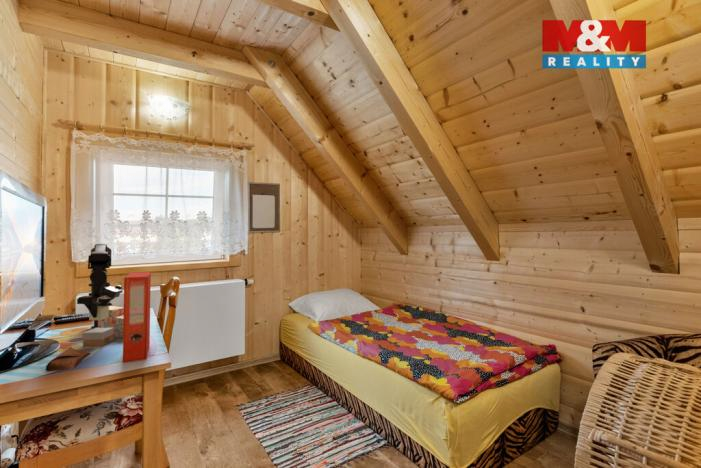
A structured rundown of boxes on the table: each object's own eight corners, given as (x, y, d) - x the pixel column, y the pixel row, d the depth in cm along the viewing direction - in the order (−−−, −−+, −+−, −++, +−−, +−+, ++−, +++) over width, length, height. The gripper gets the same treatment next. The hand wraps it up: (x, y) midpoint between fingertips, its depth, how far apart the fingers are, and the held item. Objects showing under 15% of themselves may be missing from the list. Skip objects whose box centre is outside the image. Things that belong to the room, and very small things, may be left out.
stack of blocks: (136, 335, 165) (136, 309, 165) (122, 339, 160) (123, 312, 160) (111, 329, 175) (111, 305, 175) (97, 332, 170) (97, 307, 170)
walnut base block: (95, 341, 157) (95, 334, 157) (114, 340, 158) (114, 334, 158) (83, 346, 149) (83, 339, 149) (102, 346, 150) (102, 339, 150)
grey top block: (96, 334, 158) (96, 327, 158) (114, 334, 158) (114, 327, 158) (82, 339, 150) (82, 332, 150) (101, 339, 150) (101, 332, 150)
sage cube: (97, 317, 156) (97, 306, 156) (108, 317, 156) (108, 306, 156) (89, 320, 151) (89, 308, 151) (100, 320, 151) (101, 308, 151)
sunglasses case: (74, 368, 125) (63, 353, 124) (54, 380, 123) (42, 365, 121) (92, 352, 142) (82, 339, 140) (73, 363, 139) (63, 349, 138)
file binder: (150, 346, 150) (150, 271, 150) (147, 359, 135) (147, 276, 134) (128, 348, 146) (128, 272, 146) (122, 362, 131) (123, 277, 131)
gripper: (103, 284, 145) (103, 321, 145) (130, 278, 163) (130, 311, 163) (76, 284, 144) (75, 321, 144) (106, 278, 163) (106, 311, 163)
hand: (99, 316), depth 154 cm, fingers closed on sage cube, 5 cm apart
